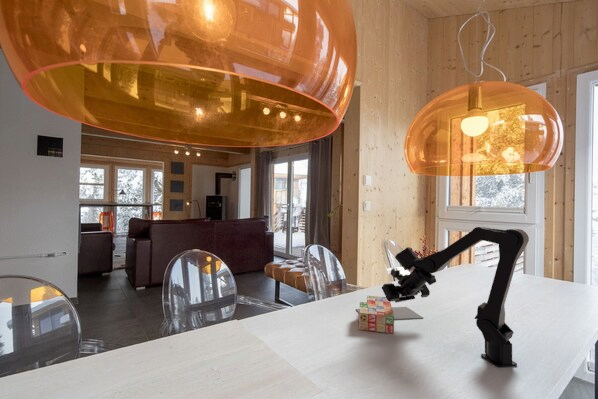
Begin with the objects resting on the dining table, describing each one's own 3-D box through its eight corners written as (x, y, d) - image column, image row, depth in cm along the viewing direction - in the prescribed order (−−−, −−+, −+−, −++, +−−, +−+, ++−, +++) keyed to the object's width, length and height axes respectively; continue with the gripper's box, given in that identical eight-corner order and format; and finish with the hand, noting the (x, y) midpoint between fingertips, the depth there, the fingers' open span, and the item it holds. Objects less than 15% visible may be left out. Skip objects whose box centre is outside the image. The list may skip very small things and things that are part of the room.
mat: (423, 318, 118) (423, 317, 118) (367, 321, 115) (367, 320, 115) (406, 307, 131) (406, 306, 131) (355, 309, 127) (355, 308, 127)
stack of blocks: (389, 311, 124) (359, 308, 127) (389, 297, 124) (359, 294, 127) (393, 334, 103) (358, 329, 106) (394, 316, 103) (358, 312, 106)
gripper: (424, 260, 114) (404, 281, 124) (385, 262, 108) (367, 285, 118) (440, 285, 107) (418, 306, 117) (399, 289, 100) (379, 311, 110)
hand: (395, 301), depth 116 cm, fingers closed
